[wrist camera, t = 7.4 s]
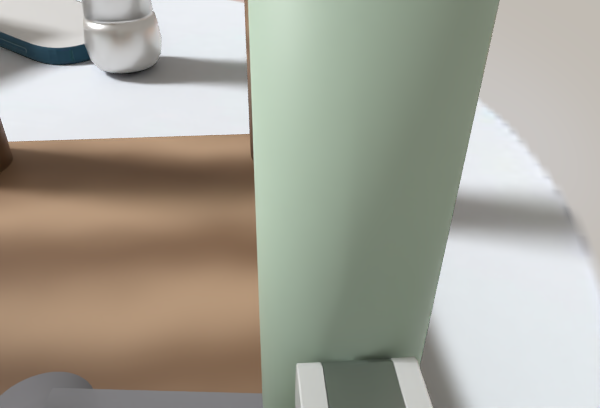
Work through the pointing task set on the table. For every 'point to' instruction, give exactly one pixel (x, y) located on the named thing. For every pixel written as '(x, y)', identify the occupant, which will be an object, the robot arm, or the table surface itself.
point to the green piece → (340, 186)
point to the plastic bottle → (121, 34)
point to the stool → (131, 261)
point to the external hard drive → (44, 30)
